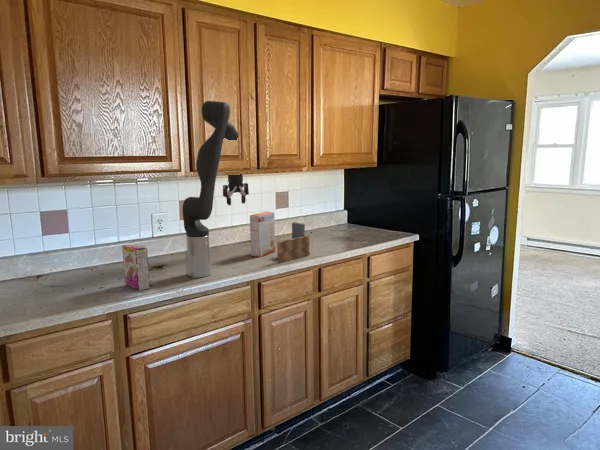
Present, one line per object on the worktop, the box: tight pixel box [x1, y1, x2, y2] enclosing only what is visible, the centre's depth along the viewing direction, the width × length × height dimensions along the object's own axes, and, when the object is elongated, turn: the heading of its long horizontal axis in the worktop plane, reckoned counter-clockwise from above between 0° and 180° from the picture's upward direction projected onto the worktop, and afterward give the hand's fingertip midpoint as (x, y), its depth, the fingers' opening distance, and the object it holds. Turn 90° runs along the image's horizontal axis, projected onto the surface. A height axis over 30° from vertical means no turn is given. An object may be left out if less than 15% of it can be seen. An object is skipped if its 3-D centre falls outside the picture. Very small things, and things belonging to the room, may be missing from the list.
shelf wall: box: [276, 235, 310, 264], centre depth 208 cm, size 20×2×10 cm, turn 135°
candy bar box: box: [121, 242, 151, 292], centre depth 166 cm, size 11×5×16 cm, turn 48°
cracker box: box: [249, 211, 276, 258], centre depth 217 cm, size 14×6×21 cm, turn 149°
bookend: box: [291, 222, 311, 255], centre depth 217 cm, size 6×7×16 cm
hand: (236, 204), depth 220 cm, fingers open, 8 cm apart
